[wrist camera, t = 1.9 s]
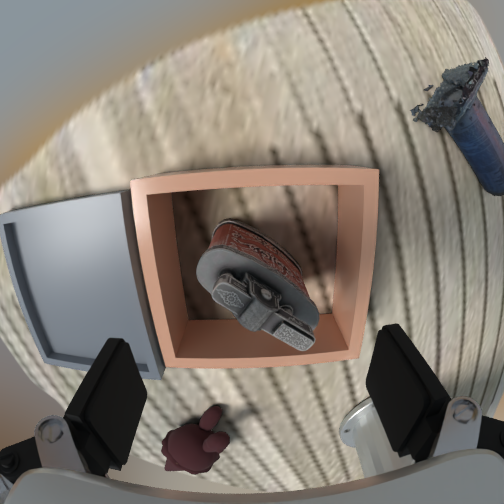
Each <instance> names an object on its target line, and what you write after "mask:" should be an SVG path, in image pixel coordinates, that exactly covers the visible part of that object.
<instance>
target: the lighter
mask: <svg viewBox="0 0 504 504" xmlns="http://www.w3.org/2000/svg"><path fill="white" fill-rule="evenodd" d="M196 275H197V278H198V281H199V282H200V284H201V285H202V286H203V287H204V288H205V289H206V290H207V291H208V292H209V293H211V294H212V298H213V300H214V301H216V302H217V303H218V304H220V305H222V306H223V307H225V308H227V309H228V310H230V311H231V312H232V313H233V315H234V316H235V317H236V318H237V320H238V322H239V323H240V324H241V325H242V326H243V327H244V328H246V329H248V330H250V331H253V332H256V331H261V330H264V331H265V332H267V333H269V334H271V335H272V336H274V337H276V338H278V339H279V340H281V341H283V342H285V343H287V344H288V345H290V346H292V347H294V348H296V349H297V350H300V351H306V350H308V349H309V348H310V347H311V346H312V345H313V344H314V343H315V336H314V333H313V331H314V329H315V328H316V327H317V325H318V322H319V319H320V318H319V312H318V309H317V307H316V305H315V303H314V302H313V301H312V300H311V299H310V297H309V295H308V292H307V289H306V287H305V284H304V282H303V279H302V270H301V268H300V266H299V264H298V262H297V261H296V260H295V259H294V258H293V257H292V256H291V255H290V254H289V253H288V252H287V251H286V250H285V249H284V248H283V247H281V246H280V245H279V244H278V243H276V242H275V241H274V240H273V239H272V238H270V237H269V236H267V235H265V234H264V233H262V232H260V231H259V230H257V229H255V228H253V227H251V226H249V225H247V224H245V223H242V222H240V221H238V220H235V219H231V218H229V219H224V220H222V221H221V222H219V223H218V224H217V226H216V227H215V229H214V231H213V233H212V241H211V243H210V246H209V248H208V249H207V250H206V251H205V252H204V253H203V254H202V256H201V258H200V261H199V263H198V265H197V270H196Z"/></svg>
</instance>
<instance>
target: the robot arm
mask: <svg viewBox="0 0 504 504" xmlns="http://www.w3.org/2000/svg"><path fill="white" fill-rule="evenodd" d="M366 388H367V390H368V392H369V395H370V398H368V399H367V400H365V401H363V402H362V403H360V404H359V405H358V406H356V407H355V408H354V409H353V410H352V411H350V413H349V414H348V415H347V416H346V417H345V418H344V420H343V421H342V423H341V425H340V428H339V434H340V438H341V440H342V442H343V443H344V444H346V445H348V446H350V447H355V448H356V450H357V453H358V457H359V460H360V463H361V467H362V470H363V474H364V477H365V478H364V479H359V480H355V481H351V482H346V483H341V484H336V485H331V486H325V487H319V488H312V489H304V490H296V491H286V492H274V493H255V494H217V493H199V492H186V491H178V490H169V489H162V488H155V487H149V486H143V485H138V484H132V483H128V482H123V481H118V480H114V479H110V478H109V476H108V474H107V473H108V469H109V468H111V469H115V470H119V471H121V468H122V465H125V464H126V463H127V460H128V456H129V453H130V450H131V446H132V443H133V440H134V437H135V433H136V430H137V427H138V424H139V421H140V417H141V414H142V411H143V408H144V405H145V402H146V399H147V390H146V388H145V385H144V383H143V380H142V378H141V375H140V373H139V370H138V367H137V365H136V362H135V359H134V356H133V354H132V351H131V348H130V345H129V343H128V342H125V340H124V339H123V338H108V339H107V341H106V342H105V344H104V346H103V347H102V349H101V351H100V352H99V354H98V356H97V357H96V359H95V361H94V362H93V364H92V366H91V367H90V369H89V371H88V372H87V374H86V376H85V378H84V379H83V381H82V383H81V385H80V386H79V388H78V390H77V392H76V393H75V395H74V397H73V399H72V401H71V403H70V404H69V406H68V408H67V410H66V412H65V415H64V417H63V418H62V417H60V416H56V415H51V416H47V417H45V418H43V419H41V420H40V421H39V422H38V424H37V425H36V427H35V431H34V432H35V436H34V437H32V438H30V439H27V440H24V441H22V442H19V443H16V444H14V445H11V446H8V447H6V448H4V449H2V450H1V451H0V504H504V421H500V420H497V419H493V418H489V417H486V416H483V415H482V410H481V407H480V405H479V404H478V403H477V401H475V400H474V399H472V398H470V397H467V396H459V397H456V398H454V399H452V400H451V398H450V396H449V395H448V393H447V392H446V390H445V389H444V387H443V386H442V384H441V383H440V381H439V380H438V378H437V377H436V375H435V374H434V372H433V371H432V369H431V368H430V366H429V365H428V364H427V362H426V361H425V359H424V358H423V357H422V355H421V354H420V352H419V351H418V350H417V348H416V347H415V345H414V344H413V343H412V341H411V340H410V339H409V337H408V336H407V335H406V333H405V332H404V330H403V329H402V328H401V326H400V325H399V324H391V325H385V326H383V327H382V330H379V331H378V334H377V339H376V343H375V347H374V351H373V355H372V359H371V363H370V367H369V370H368V374H367V378H366Z"/></svg>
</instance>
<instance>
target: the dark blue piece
mask: <svg viewBox="0 0 504 504" xmlns="http://www.w3.org/2000/svg"><path fill="white" fill-rule="evenodd" d="M472 64H474V65H472ZM488 64H489V60H488V59H487V58H486V57H485V59H483V60H478V61H477V62H474V63H472V62H471V63H469V64H467V65H466V64H464V66H463V65H461V66H460V65H458V67H459V68H458V67H456V69H455V68H454V69H450V70H448V69H445V71H444V72H445V73H443V74H442V77H444V78H443V79H444V81H443V82H442V83H441V86H440V87H438V88H436V90H435V92H434V95H433V97H431V98H432V99H430V97H429V99H430V101H428V103H427V107H425V109H424V110H423V111H422V112H421V110H420V109H419V107H418V106H422V105H424V104H422V105H417V106H416V107H415V108H414V109H412V110H410V111H411V112H412V115H413V116H415V113H417V112H419V114H418V116H417V118H414V119H413V121H414V120H415V122H417V120H419V119H420V120H421V121H423V122H425V124H427V123H428V125H429V127H431V128H432V130H433V131H435V130H436V132H437V130H441V128H442V127H443V126H444V127H445V128H446V130H447V131H448V132H449V133H450V136H452V138H453V139H454V141H455V143H456V144H457V145H458V147H459V148H460V150H461V151H462V153H463V154H464V156H465V158H466V159H467V161H468V163H469V164H470V166H471V167H472V169H473V171H474V172H475V174H476V176H477V177H478V179H479V181H480V183H481V185H482V186H483V188H484V189H485V190H486V191H487V192H488V193H490V194H492V195H494V196H495V195H496V196H502V195H504V143H503V141H502V139H501V137H500V135H499V133H498V131H497V129H496V128H495V126H494V124H493V123H492V121H491V119H490V117H489V116H488V114H487V112H486V111H485V109H484V107H483V106H482V104H481V102H480V101H479V99H478V98H477V91H478V89H479V88H480V86H481V84H482V83H483V79H484V77H485V76H486V73H487V72H488V68H487V66H489V65H488ZM432 86H433V85H429V87H428V88H426V89H424V90H425V91H428V90H429V89H430V88H431V87H432ZM436 126H437V127H436ZM434 127H435V128H434ZM438 127H439V128H438ZM438 132H439V131H438Z"/></svg>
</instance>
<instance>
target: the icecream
mask: <svg viewBox="0 0 504 504" xmlns="http://www.w3.org/2000/svg"><path fill="white" fill-rule="evenodd" d="M221 414H222V409H221V408H220V407H219V406H213V407H210V408H209V409H208V410H206V411H205V412H204V414H203V415H202V417H201V419H200V423H199V425H197V424H186V425H184V426H182V427H179V428H177V429H175V430H171V431H169V432H168V433H167V435H166V437H165V438H164V439H163V441H162V445H163V447H162V450H161V452H162V454H163V455H164V456H165V457H167V460H166V465H165V470H166V471H183V470H184V471H187V472H189V473H191V474H195V475H196V474H198V473H204V472H208V471H209V470H210V469H211V467H212V465H213V463H214V462H216V461H217V460H218V459H219V458H220V456H219V453H221V452H223V450H224V449H226V447H227V446H228V445H229V443H230V437H229V435H228V434H227V433H226V432H222V431H218V432H216V433H214V432H213V431H211V429H212V428H213V427H214V426H215V425H216V424H217V423H218V421H219V419H220V417H221Z"/></svg>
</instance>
